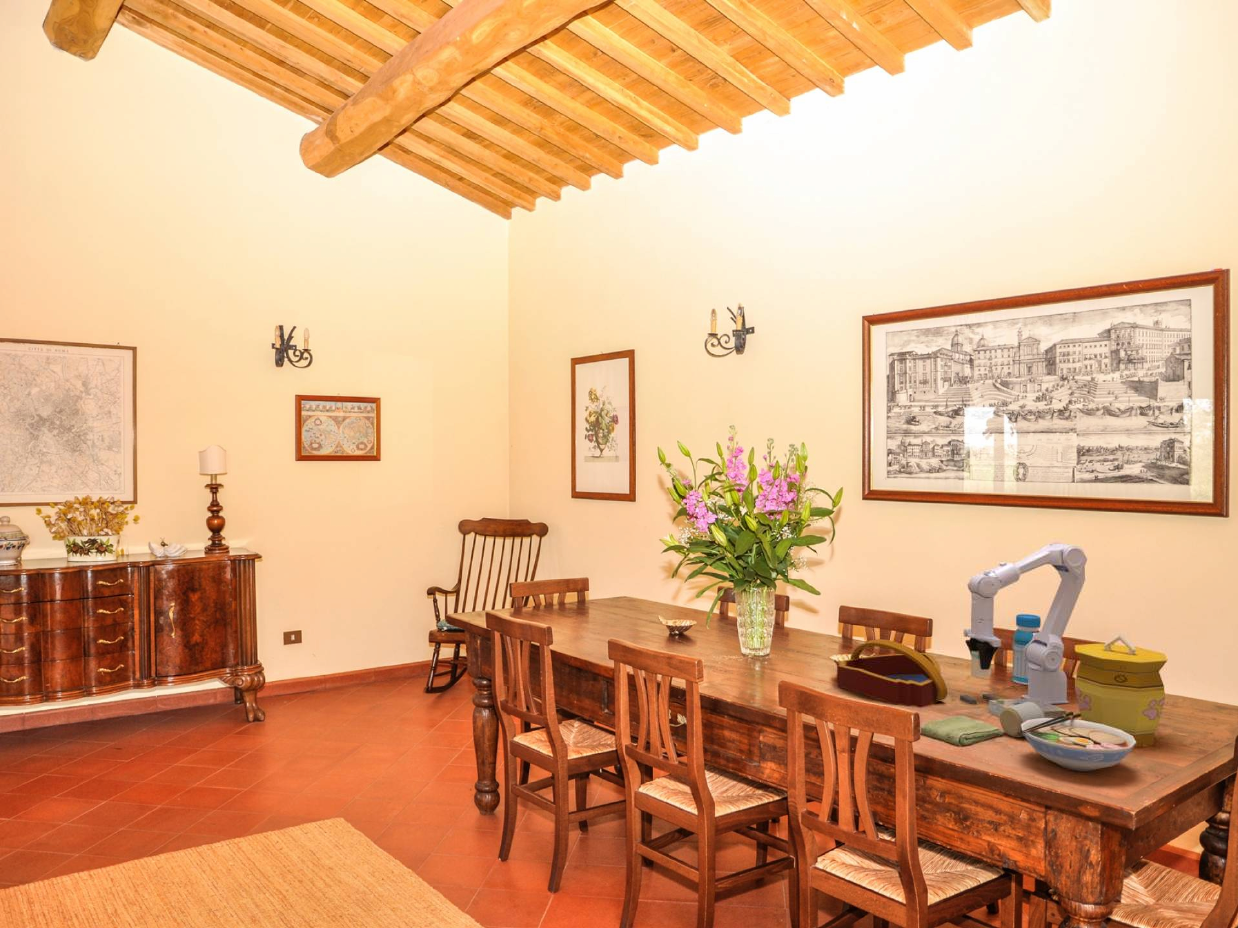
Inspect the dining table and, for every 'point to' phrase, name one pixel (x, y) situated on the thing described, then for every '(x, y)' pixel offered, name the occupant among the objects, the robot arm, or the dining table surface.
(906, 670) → the decorative basket
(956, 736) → the washcloth
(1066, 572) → the robot arm
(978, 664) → the small white carton
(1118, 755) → the ramen bowl
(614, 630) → the dining table surface
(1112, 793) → the dining table surface
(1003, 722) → the grey cylinder
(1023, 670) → the beverage bottle
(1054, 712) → the port
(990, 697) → the pair of dark blocks
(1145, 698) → the container
